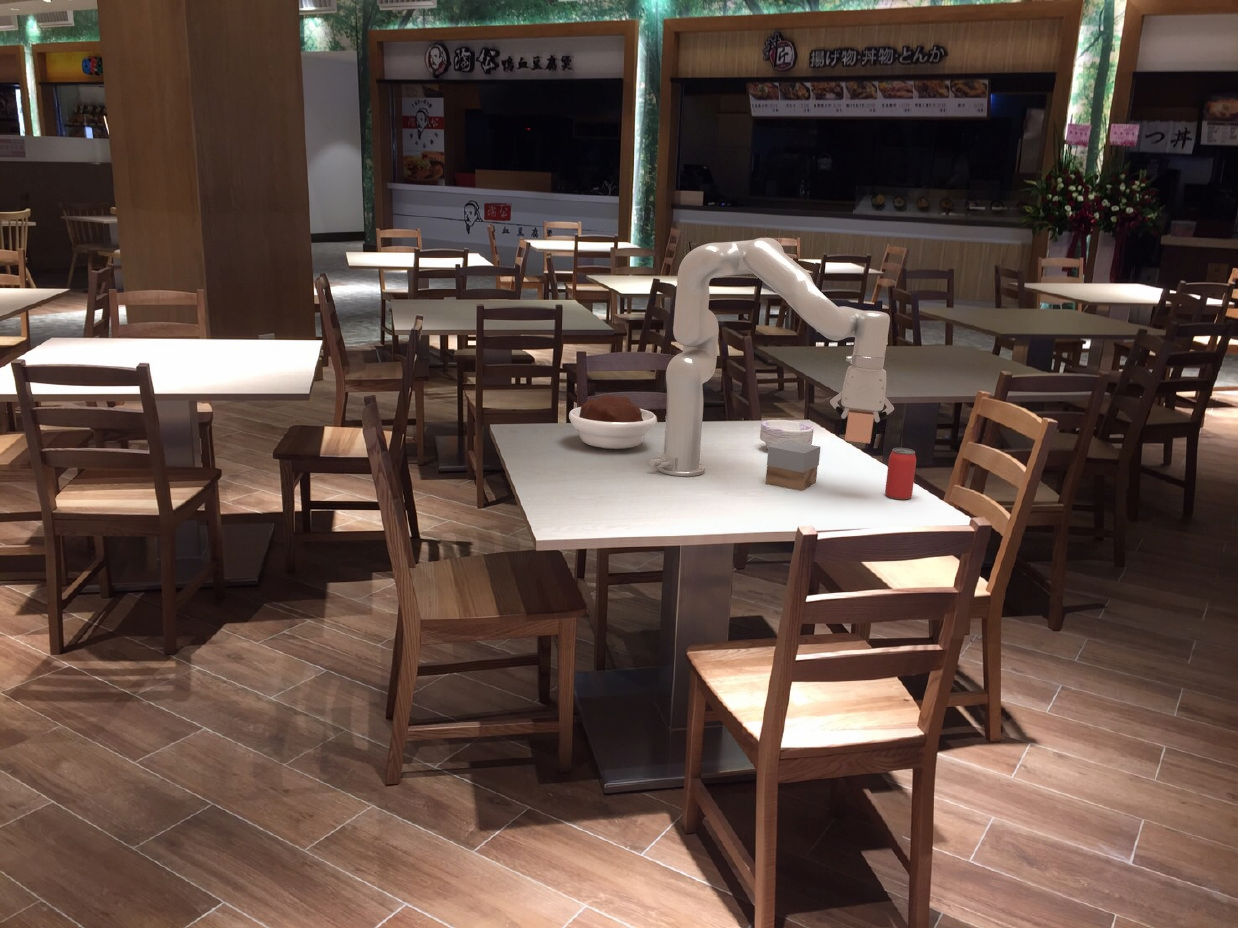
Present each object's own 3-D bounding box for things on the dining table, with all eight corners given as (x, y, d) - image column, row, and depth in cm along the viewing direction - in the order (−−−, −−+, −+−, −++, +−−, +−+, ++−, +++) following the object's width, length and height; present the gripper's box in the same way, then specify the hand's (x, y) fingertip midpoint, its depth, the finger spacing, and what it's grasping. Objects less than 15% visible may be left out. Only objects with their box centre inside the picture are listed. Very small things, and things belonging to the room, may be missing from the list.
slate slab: (802, 472, 257) (804, 453, 256) (766, 465, 263) (768, 446, 261) (818, 465, 266) (820, 446, 264) (783, 458, 271) (785, 440, 270)
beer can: (882, 492, 261) (887, 446, 258) (908, 493, 261) (913, 448, 258) (887, 499, 254) (893, 452, 251) (914, 501, 254) (920, 454, 251)
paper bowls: (822, 454, 298) (824, 427, 296) (783, 459, 290) (786, 432, 288) (786, 443, 310) (788, 417, 309) (748, 447, 302) (750, 421, 300)
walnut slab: (802, 491, 258) (804, 472, 257) (765, 485, 263) (766, 466, 262) (815, 483, 267) (817, 465, 266) (779, 477, 272) (781, 458, 270)
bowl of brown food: (610, 432, 313) (613, 383, 309) (672, 448, 296) (675, 397, 293) (550, 443, 296) (551, 391, 292) (611, 461, 279) (614, 406, 275)
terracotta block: (845, 440, 250) (848, 412, 248) (844, 435, 256) (848, 407, 254) (870, 443, 249) (874, 415, 247) (869, 438, 255) (873, 410, 253)
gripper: (831, 361, 245) (822, 434, 250) (905, 368, 243) (894, 442, 247) (831, 356, 253) (822, 428, 257) (903, 364, 250) (892, 436, 254)
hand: (857, 434), depth 252 cm, fingers closed on terracotta block, 6 cm apart
